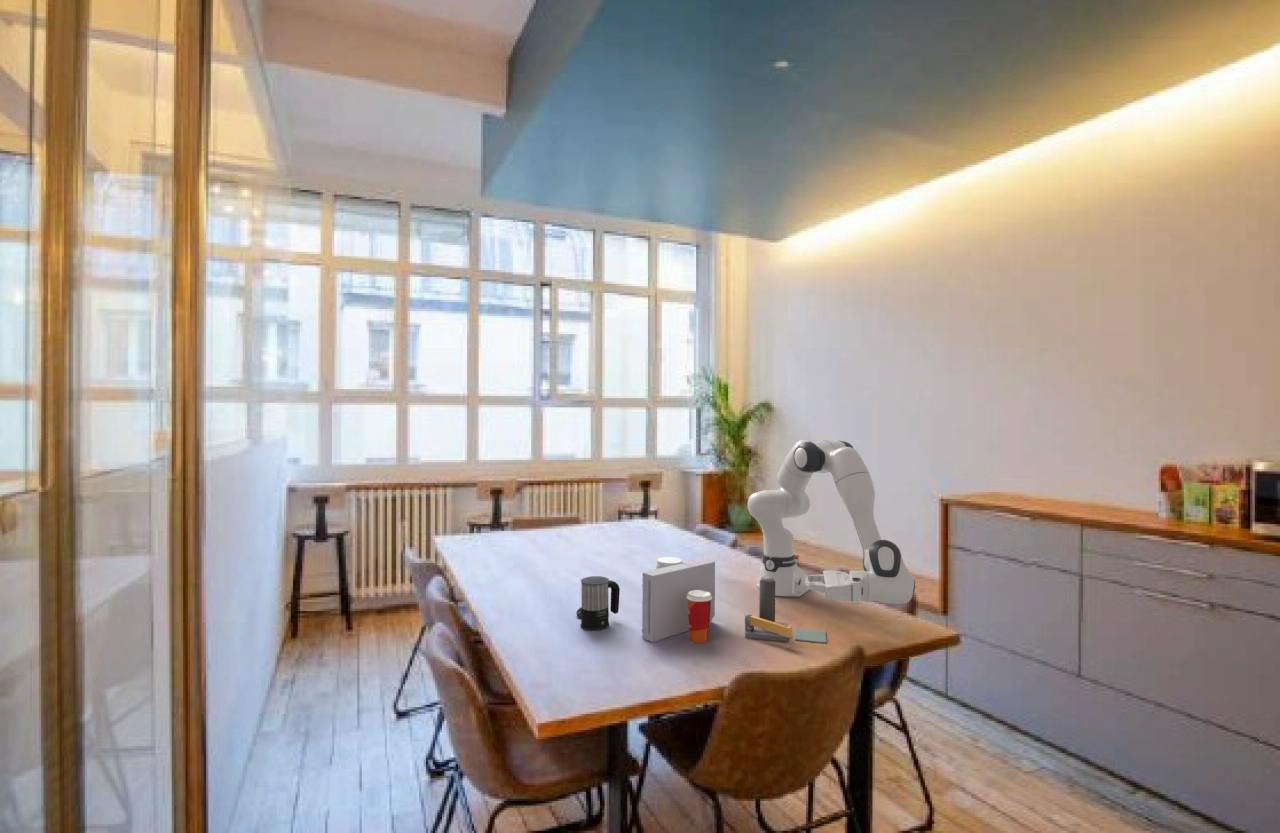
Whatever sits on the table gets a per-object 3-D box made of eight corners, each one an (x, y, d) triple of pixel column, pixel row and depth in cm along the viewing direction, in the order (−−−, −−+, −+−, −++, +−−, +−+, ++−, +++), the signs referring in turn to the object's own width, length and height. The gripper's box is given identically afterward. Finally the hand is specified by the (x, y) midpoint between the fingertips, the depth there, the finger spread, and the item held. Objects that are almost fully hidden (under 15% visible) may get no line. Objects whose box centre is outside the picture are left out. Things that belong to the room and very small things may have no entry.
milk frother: (597, 633, 185) (597, 585, 185) (558, 623, 194) (558, 577, 194) (623, 620, 197) (623, 575, 197) (585, 611, 206) (586, 568, 205)
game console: (639, 637, 182) (639, 571, 182) (701, 617, 200) (702, 558, 200) (651, 642, 178) (652, 575, 178) (714, 622, 195) (715, 561, 195)
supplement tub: (651, 601, 216) (651, 561, 216) (661, 594, 225) (661, 555, 225) (676, 605, 212) (677, 564, 212) (686, 598, 221) (686, 558, 221)
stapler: (743, 623, 185) (743, 615, 185) (747, 621, 186) (747, 613, 186) (787, 637, 173) (787, 628, 173) (792, 635, 175) (792, 626, 175)
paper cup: (695, 633, 186) (695, 587, 186) (716, 639, 181) (717, 592, 181) (680, 640, 180) (681, 593, 180) (702, 646, 175) (702, 598, 175)
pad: (795, 629, 189) (795, 628, 189) (825, 632, 186) (825, 631, 186) (795, 640, 180) (795, 639, 180) (826, 643, 178) (826, 642, 178)
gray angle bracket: (748, 623, 194) (748, 619, 194) (788, 627, 191) (788, 622, 191) (745, 637, 182) (745, 632, 182) (787, 641, 179) (787, 637, 179)
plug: (755, 626, 192) (755, 573, 191) (780, 629, 189) (781, 575, 189) (753, 635, 184) (753, 580, 184) (779, 638, 182) (780, 582, 182)
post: (745, 632, 186) (745, 622, 186) (751, 633, 185) (751, 623, 185) (744, 635, 184) (744, 624, 184) (751, 635, 184) (751, 625, 184)
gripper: (853, 566, 190) (807, 564, 193) (859, 583, 170) (808, 580, 174) (853, 586, 190) (807, 583, 193) (859, 606, 170) (808, 602, 173)
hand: (808, 582), depth 183 cm, fingers open, 8 cm apart
